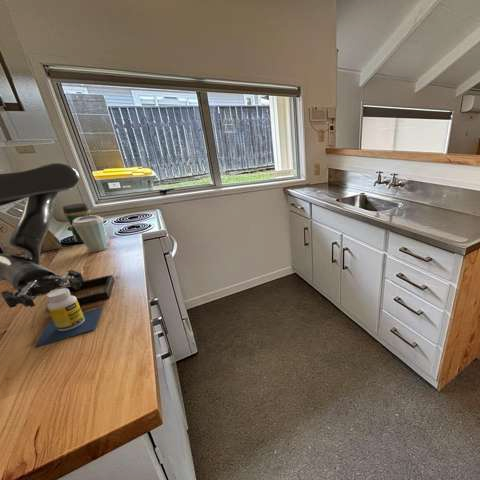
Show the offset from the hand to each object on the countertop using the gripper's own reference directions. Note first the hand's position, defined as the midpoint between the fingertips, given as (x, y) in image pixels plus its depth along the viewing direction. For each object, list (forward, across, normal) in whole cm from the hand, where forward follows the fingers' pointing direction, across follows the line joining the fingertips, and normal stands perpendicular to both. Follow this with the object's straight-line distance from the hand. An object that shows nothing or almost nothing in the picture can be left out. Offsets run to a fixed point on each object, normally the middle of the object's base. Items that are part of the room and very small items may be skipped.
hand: (55, 293), depth 64 cm
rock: (-80, +17, +10) cm, 82 cm away
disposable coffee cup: (-58, +29, +10) cm, 65 cm away
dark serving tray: (-14, +9, +10) cm, 19 cm away
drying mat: (0, 0, +10) cm, 10 cm away
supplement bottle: (0, 0, +10) cm, 10 cm away
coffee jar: (-78, +32, +10) cm, 85 cm away
